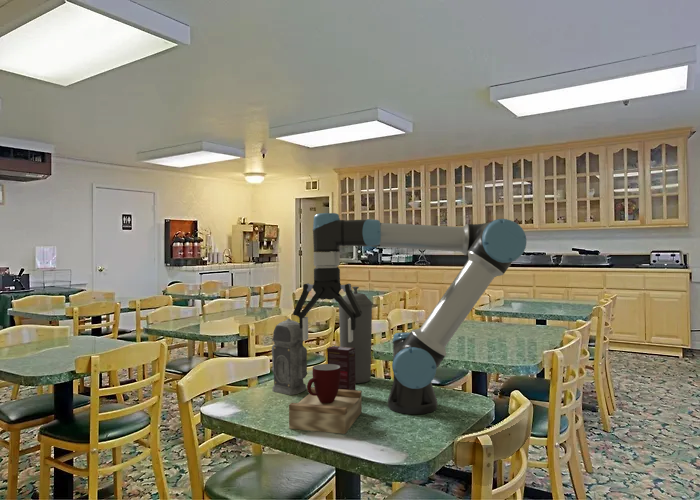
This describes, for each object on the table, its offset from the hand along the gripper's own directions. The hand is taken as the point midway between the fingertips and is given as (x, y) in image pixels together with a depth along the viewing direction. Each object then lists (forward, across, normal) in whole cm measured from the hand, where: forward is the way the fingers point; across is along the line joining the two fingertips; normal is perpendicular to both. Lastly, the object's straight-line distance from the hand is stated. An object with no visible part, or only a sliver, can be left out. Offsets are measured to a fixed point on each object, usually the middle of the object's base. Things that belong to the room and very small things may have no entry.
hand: (327, 340), depth 145 cm
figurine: (+23, +22, -26) cm, 41 cm away
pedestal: (+23, 0, 0) cm, 23 cm away
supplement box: (+23, +3, -24) cm, 34 cm away
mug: (+18, +1, 0) cm, 18 cm away
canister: (+23, +3, -44) cm, 49 cm away
